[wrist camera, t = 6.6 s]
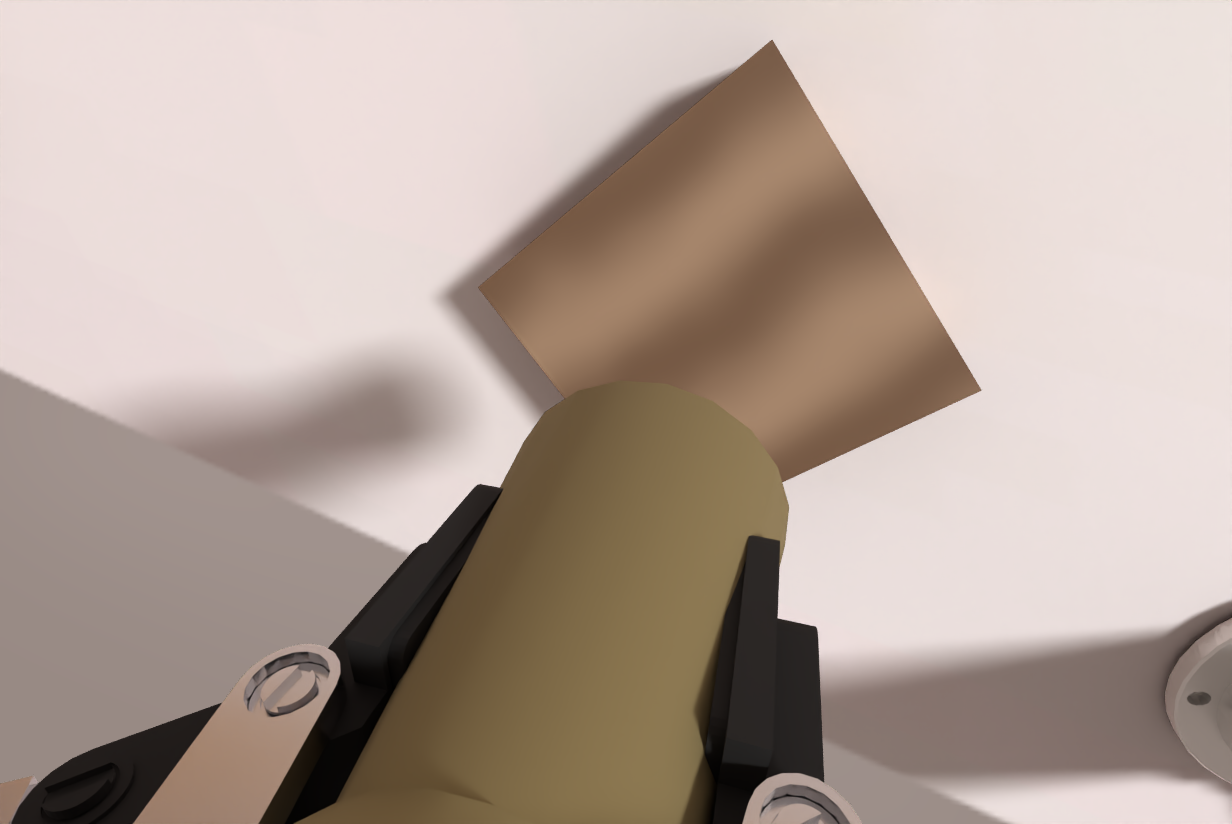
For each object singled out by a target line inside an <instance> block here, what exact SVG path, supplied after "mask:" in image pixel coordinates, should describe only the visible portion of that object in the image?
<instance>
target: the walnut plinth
mask: <svg viewBox="0 0 1232 824" xmlns="http://www.w3.org/2000/svg"><path fill="white" fill-rule="evenodd" d="M478 288H479V289H480V291H481V292H482V293H483V295H484V296H485V297H486V298H487V300H488V301H489V302H490V304H491V305H492V306H493V307H494V309H495V310H496V311H497V313H498V314H499V315H500V316H501V318H502V319H503V320H504V322H505V323H506V324H507V325H508V327H509V328H510V329H511V330H512V332H513V333H514V334H515V336H516V337H517V338H518V339H519V341H520V342H521V343H522V345H523V346H524V347H525V348H526V350H527V351H528V352H529V354H530V355H531V356H532V357H533V359H534V360H535V361H536V363H537V364H538V365H539V366H540V368H541V369H542V370H543V371H544V373H545V374H546V375H547V377H548V378H549V379H550V380H551V382H552V383H553V384H554V386H555V387H556V388H557V389H558V391H559V392H560V393H561V395H562V396H563V397H564V398H565V399H566V398H567V397H569V396H570V395H572V394H573V393H575V392H576V391H578V390H582V389H587V388H591V387H595V386H599V385H603V384H607V383H611V382H616V381H620V380H621V381H635V382H649V383H663V384H669V385H671V386H674V387H677V388H679V389H682V390H685V391H687V392H690V393H693V394H695V395H698V396H701V397H703V398H706V399H709V400H711V401H713V402H715V403H716V404H717V405H719V406H720V407H721V408H723V409H724V410H725V411H727V412H728V413H729V414H731V415H732V416H733V417H735V418H736V419H737V420H739V421H740V422H741V423H743V424H744V425H745V426H747V427H748V428H749V429H751V430H752V432H753V433H754V434H755V436H756V437H757V439H758V440H759V441H760V443H761V444H762V446H763V447H764V448H765V450H766V451H767V453H768V454H769V455H770V457H771V458H772V460H773V461H774V463H775V464H776V465H777V467H778V470H779V473H780V477H781V480H782V482H784V481H786V480H788V479H790V478H793V477H795V476H797V475H799V474H801V473H803V472H806V471H808V470H810V469H812V468H814V467H816V466H819V465H821V464H823V463H825V462H827V461H830V460H832V459H834V458H836V457H838V456H840V455H843V454H845V453H847V452H849V451H851V450H853V449H856V448H858V447H860V446H862V445H864V444H866V443H869V442H871V441H873V440H875V439H877V438H879V437H882V436H884V435H886V434H888V433H890V432H892V431H895V430H897V429H899V428H901V427H903V426H905V425H908V424H910V423H912V422H914V421H916V420H919V419H921V418H923V417H925V416H927V415H929V414H932V413H934V412H936V411H938V410H940V409H942V408H945V407H947V406H949V405H951V404H953V403H955V402H958V401H960V400H962V399H964V398H966V397H968V396H971V395H973V394H975V393H977V392H979V391H981V389H980V387H979V385H978V384H977V382H976V380H975V379H974V377H973V375H972V374H971V372H970V370H969V368H968V367H967V365H966V363H965V362H964V360H963V358H962V357H961V355H960V353H959V352H958V350H957V348H956V347H955V345H954V343H953V342H952V340H951V338H950V337H949V335H948V333H947V332H946V330H945V328H944V327H943V325H942V323H941V322H940V320H939V318H938V317H937V315H936V313H935V312H934V310H933V308H932V307H931V305H930V303H929V301H928V300H927V298H926V296H925V295H924V293H923V291H922V290H921V288H920V286H919V285H918V283H917V281H916V280H915V278H914V276H913V275H912V273H911V271H910V270H909V268H908V266H907V265H906V263H905V261H904V260H903V258H902V256H901V255H900V253H899V251H898V250H897V248H896V246H895V245H894V243H893V241H892V239H891V238H890V236H889V234H888V233H887V231H886V229H885V228H884V226H883V224H882V223H881V221H880V219H879V218H878V216H877V214H876V213H875V211H874V209H873V208H872V206H871V204H870V203H869V201H868V199H867V198H866V196H865V194H864V193H863V191H862V189H861V188H860V186H859V184H858V183H857V181H856V179H855V178H854V176H853V174H852V172H851V171H850V169H849V167H848V166H847V164H846V162H845V161H844V159H843V157H842V156H841V154H840V152H839V151H838V149H837V147H836V146H835V144H834V142H833V141H832V139H831V137H830V136H829V134H828V132H827V131H826V129H825V127H824V126H823V124H822V122H821V121H820V119H819V117H818V116H817V114H816V112H815V111H814V109H813V107H812V105H811V104H810V102H809V100H808V99H807V97H806V95H805V94H804V92H803V90H802V89H801V87H800V85H799V84H798V82H797V80H796V79H795V77H794V75H793V74H792V72H791V70H790V69H789V67H788V65H787V64H786V62H785V60H784V59H783V57H782V55H781V54H780V52H779V50H778V49H777V47H776V45H775V43H774V42H773V40H771V41H770V42H769V43H768V44H766V45H765V46H764V47H763V48H762V49H760V50H759V51H758V52H757V53H756V54H754V55H753V56H752V57H751V58H750V59H749V60H747V61H746V62H745V63H744V64H743V65H741V66H740V67H739V68H738V69H737V70H735V71H734V72H733V73H732V74H731V75H730V76H728V77H727V78H726V79H725V80H724V81H722V82H721V83H720V84H719V85H718V86H717V87H715V88H714V89H713V90H712V91H711V92H709V93H708V94H707V95H706V96H705V97H703V98H702V99H701V100H700V101H699V102H698V103H696V104H695V105H694V106H693V107H692V108H690V109H689V110H688V111H687V112H686V113H684V114H683V115H682V116H681V117H680V118H679V119H677V120H676V121H675V122H674V123H673V124H671V125H670V126H669V127H668V128H667V129H665V130H664V131H663V132H662V133H661V134H660V135H658V136H657V137H656V138H655V139H654V140H652V141H651V142H650V143H649V144H648V145H646V146H645V147H644V148H643V149H642V150H641V151H639V152H638V153H637V154H636V155H635V156H633V157H632V158H631V159H630V160H629V161H627V162H626V163H625V164H624V165H623V166H622V167H620V168H619V169H618V170H617V171H616V172H614V173H613V174H612V175H611V176H610V177H609V178H607V179H606V180H605V181H604V182H603V183H601V184H600V185H599V186H598V187H597V188H595V189H594V190H593V191H592V192H591V193H590V194H588V195H587V196H586V197H585V198H584V199H582V200H581V201H580V202H579V203H578V204H576V205H575V206H574V207H573V208H572V209H571V210H569V211H568V212H567V213H566V214H565V215H563V216H562V217H561V218H560V219H559V220H557V221H556V222H555V223H554V224H553V225H552V226H550V227H549V228H548V229H547V230H546V231H544V232H543V233H542V234H541V235H540V236H538V237H537V238H536V239H535V240H534V241H533V242H531V243H530V244H529V245H528V246H527V247H525V248H524V249H523V250H522V251H521V252H519V253H518V254H517V255H516V256H515V257H514V258H512V259H511V260H510V261H509V262H508V263H506V264H505V265H504V266H503V267H502V268H501V269H499V270H498V271H497V272H496V273H495V274H493V275H492V276H491V277H490V278H489V279H487V280H486V281H485V282H484V283H483V284H482V285H480V286H479V287H478Z"/></svg>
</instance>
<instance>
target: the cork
mask: <svg viewBox="0 0 1232 824" xmlns="http://www.w3.org/2000/svg"><path fill="white" fill-rule="evenodd" d="M500 488H503V491H502V493H501V494H500V496H499V498H498V500H497V502H496V503H495V505H494V507H493V509H492V511H491V513H490V515H489V517H488V519H487V521H486V523H485V525H484V527H483V529H482V531H481V533H480V535H479V537H478V539H477V541H476V543H475V545H474V547H473V549H472V551H471V553H470V555H469V557H468V559H467V561H466V563H465V564H464V566H463V568H462V570H461V572H460V573H459V575H458V577H457V579H456V581H455V583H454V584H453V586H452V588H451V590H450V592H449V593H448V595H447V597H446V599H445V601H444V603H443V604H442V606H441V608H440V610H439V612H438V614H437V615H436V617H435V619H434V621H433V623H432V624H431V626H430V628H429V630H428V632H427V634H426V635H425V637H424V639H423V641H422V643H421V645H420V646H419V648H418V650H417V652H416V654H415V655H414V657H413V659H412V661H411V663H410V665H409V666H408V668H407V670H406V672H405V674H404V675H403V676H402V678H401V679H400V680H399V682H398V684H397V686H396V688H395V690H394V692H393V693H392V695H391V697H390V699H389V701H388V703H387V705H386V707H385V709H384V711H383V713H382V715H381V716H380V718H379V720H378V722H377V724H376V726H375V728H374V730H373V732H372V734H371V736H370V738H369V739H368V741H367V743H366V745H365V747H364V749H363V751H362V753H361V755H360V757H359V759H358V760H357V762H356V764H355V766H354V768H353V770H352V772H351V774H350V776H349V778H348V780H347V782H346V783H345V785H344V787H343V789H342V791H341V793H340V795H339V797H338V799H337V801H336V803H335V804H332V805H330V806H328V807H326V808H324V809H322V810H320V811H318V812H316V813H314V814H312V815H310V816H308V817H306V818H304V819H302V820H300V821H298V822H296V823H294V824H712V817H713V811H714V804H715V798H716V790H717V784H716V782H715V779H714V777H713V774H712V772H711V769H710V767H709V764H708V762H707V759H706V757H705V749H706V742H707V735H708V728H709V722H710V715H711V708H712V701H713V694H714V687H715V680H716V673H717V666H718V660H719V653H720V646H721V639H722V632H723V625H724V618H725V613H726V610H727V608H728V605H729V603H730V600H731V598H732V595H733V593H734V590H735V587H736V585H737V582H738V580H739V577H740V575H741V572H742V570H743V567H744V565H745V562H746V555H747V547H748V539H749V536H752V535H753V536H759V537H764V538H769V539H775V540H780V562H779V567H780V563H781V559H782V555H783V551H784V547H785V540H786V531H787V521H788V512H789V505H788V501H787V498H786V494H785V491H784V487H783V484H782V480H781V477H780V473H779V470H778V467H777V465H776V464H775V463H774V461H773V460H772V458H771V457H770V455H769V454H768V453H767V451H766V450H765V448H764V447H763V446H762V444H761V443H760V441H759V440H758V439H757V437H756V436H755V434H754V433H753V432H752V430H751V429H749V428H748V427H747V426H745V425H744V424H743V423H741V422H740V421H739V420H737V419H736V418H735V417H733V416H732V415H731V414H729V413H728V412H727V411H725V410H724V409H723V408H721V407H720V406H719V405H717V404H716V403H715V402H713V401H711V400H709V399H706V398H703V397H701V396H698V395H695V394H693V393H690V392H687V391H685V390H682V389H679V388H677V387H674V386H671V385H669V384H663V383H649V382H635V381H621V380H620V381H616V382H611V383H607V384H603V385H599V386H595V387H591V388H587V389H582V390H578V391H576V392H575V393H573V394H572V395H570V396H569V397H567V398H566V399H564V400H563V401H561V402H560V403H558V404H557V405H555V406H553V407H552V408H550V409H549V410H547V411H546V412H545V413H544V414H543V416H542V417H541V418H540V420H539V421H538V423H537V424H536V425H535V427H534V428H533V430H532V431H531V433H530V434H529V435H528V437H527V438H526V440H525V441H524V443H523V445H522V447H521V448H520V450H519V452H518V454H517V456H516V458H515V460H514V462H513V464H512V466H511V468H510V470H509V471H508V473H507V475H506V477H505V479H504V481H503V483H502V485H501V487H500Z"/></svg>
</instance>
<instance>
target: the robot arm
mask: <svg viewBox="0 0 1232 824" xmlns="http://www.w3.org/2000/svg"><path fill="white" fill-rule="evenodd" d="M502 491H503V488H498V487H493V486H487V485H482V484H479V485H477V486H476V487H474V489H473V490H472V491H471V492H470V493H469V494H468V496H467V497H466V498H465V499H464V500H463V501H462V502H461V504H460V505H459V506H458V507H457V508H456V509H455V511H454V512H453V513H452V514H451V515H450V516H449V518H448V519H447V520H446V521H445V522H444V523H443V525H442V526H441V527H440V528H439V529H438V530H437V531H436V533H435V534H434V535H433V536H432V537H431V538H430V540H429V541H428V542H427V543H423V544H421V545H419V546H418V547H417V548H416V549H415V550H414V551H413V552H412V553H411V554H410V555H409V556H408V557H407V559H406V560H405V561H404V562H403V563H402V564H401V565H400V567H399V568H398V569H397V570H396V571H395V572H394V574H393V575H392V576H391V577H390V578H389V579H388V580H387V581H386V583H385V584H384V585H383V586H382V587H381V588H380V589H379V591H378V592H377V593H376V594H375V595H374V597H372V599H371V600H370V601H369V602H368V603H367V604H366V605H365V607H364V608H363V609H362V610H361V611H360V612H359V613H358V615H357V616H356V617H355V618H354V619H353V620H352V621H351V622H350V624H349V625H348V626H347V627H346V628H345V629H344V631H343V632H342V633H341V634H340V635H339V636H338V637H337V638H336V640H335V641H334V642H333V643H332V644H331V645H330V646H329V648H327V647H325V646H320V645H316V644H299V645H294V646H290V647H287V648H282V649H280V650H278V651H276V652H274V653H272V654H269V655H268V656H266V657H264V658H263V659H261V660H260V661H258V662H257V663H256V664H254V665H253V666H251V667H250V669H249V670H248V671H247V672H246V673H245V674H244V675H243V676H242V677H241V678H240V679H239V681H238V682H237V684H236V685H235V686H234V688H233V689H232V690H231V692H230V693H229V694H228V696H227V697H226V698H225V700H224V701H223V702H222V703H220V704H217V705H214V706H211V707H209V708H206V709H203V710H200V711H198V712H195V713H192V714H189V715H186V716H184V717H181V718H178V719H175V720H173V721H170V722H167V723H164V724H162V725H159V726H156V727H153V728H151V729H148V730H145V731H142V732H139V733H136V734H134V735H131V736H128V737H126V738H123V739H120V740H117V741H114V742H111V743H109V744H106V745H103V746H100V747H98V748H95V749H92V750H90V751H88V752H86V753H83V754H81V755H79V756H77V757H75V758H72V759H71V760H69V761H68V762H66V763H64V764H63V765H61V766H60V767H58V768H57V769H55V770H54V771H52V772H51V773H50V774H49V775H48V776H46V777H45V778H44V779H43V780H42V781H41V782H39V783H38V782H37V780H36V779H35V777H34V776H29V777H25V778H21V779H17V780H13V781H9V782H5V783H0V824H294V823H296V822H298V821H300V820H302V819H304V818H306V817H308V816H310V815H312V814H314V813H316V812H318V811H320V810H322V809H324V808H326V807H328V806H330V805H332V804H335V803H336V801H337V799H338V797H339V795H340V793H341V791H342V789H343V787H344V785H345V783H346V782H347V780H348V778H349V776H350V774H351V772H352V770H353V768H354V766H355V764H356V762H357V760H358V759H359V757H360V755H361V753H362V751H363V749H364V747H365V745H366V743H367V741H368V739H369V738H370V736H371V734H372V732H373V730H374V728H375V726H376V724H377V722H378V720H379V718H380V716H381V715H382V713H383V711H384V709H385V707H386V705H387V703H388V701H389V699H390V697H391V695H392V693H393V692H394V690H395V688H396V686H397V684H398V682H399V680H400V679H401V678H402V676H403V675H404V674H405V672H406V670H407V668H408V666H409V665H410V663H411V661H412V659H413V657H414V655H415V654H416V652H417V650H418V648H419V646H420V645H421V643H422V641H423V639H424V637H425V635H426V634H427V632H428V630H429V628H430V626H431V624H432V623H433V621H434V619H435V617H436V615H437V614H438V612H439V610H440V608H441V606H442V604H443V603H444V601H445V599H446V597H447V595H448V593H449V592H450V590H451V588H452V586H453V584H454V583H455V581H456V579H457V577H458V575H459V573H460V572H461V570H462V568H463V566H464V564H465V563H466V561H467V559H468V557H469V555H470V553H471V551H472V549H473V547H474V545H475V543H476V541H477V539H478V537H479V535H480V533H481V531H482V529H483V527H484V525H485V523H486V521H487V519H488V517H489V515H490V513H491V511H492V509H493V507H494V505H495V503H496V502H497V500H498V498H499V496H500V494H501V493H502ZM779 562H780V540H775V539H769V538H764V537H759V536H753V535H752V536H749V539H748V547H747V555H746V562H745V565H744V567H743V570H742V572H741V575H740V577H739V580H738V582H737V585H736V587H735V590H734V593H733V595H732V598H731V600H730V603H729V605H728V608H727V610H726V613H725V618H724V625H723V632H722V639H721V646H720V653H719V660H718V666H717V673H716V680H715V687H714V694H713V701H712V708H711V715H710V722H709V728H708V735H707V742H706V749H705V757H706V759H707V762H708V764H709V767H710V769H711V772H712V774H713V777H714V779H715V782H716V784H717V790H716V798H715V804H714V811H713V817H712V824H862V822H861V820H860V819H859V817H858V815H857V814H856V812H855V811H854V810H853V808H852V806H851V805H850V803H849V802H847V801H846V800H845V799H844V798H843V797H842V796H841V795H840V794H839V793H838V792H837V791H836V790H835V789H834V788H832V787H830V786H828V785H827V784H825V783H824V768H823V743H822V720H821V696H820V672H819V648H818V632H817V628H816V627H815V626H810V625H805V624H801V623H796V622H792V621H787V620H782V619H778V618H777V616H778V589H779ZM1165 704H1166V713H1167V715H1168V718H1169V720H1170V722H1171V725H1172V727H1173V729H1174V731H1175V732H1176V734H1177V735H1178V737H1179V738H1180V740H1181V741H1182V743H1183V744H1184V746H1185V748H1186V749H1187V751H1188V752H1189V753H1190V754H1191V755H1192V756H1193V757H1194V758H1195V759H1196V760H1197V761H1198V762H1199V763H1200V764H1201V765H1202V766H1203V767H1204V768H1206V769H1208V770H1209V771H1211V772H1212V773H1214V774H1215V775H1217V776H1218V777H1220V778H1221V779H1223V780H1225V781H1227V782H1229V783H1231V784H1232V618H1231V619H1229V620H1227V621H1225V622H1223V623H1221V624H1219V625H1217V626H1216V627H1215V628H1213V629H1212V630H1211V631H1209V632H1208V633H1206V634H1205V635H1204V636H1202V637H1201V638H1199V639H1198V640H1197V641H1196V642H1195V643H1194V644H1193V645H1192V646H1191V647H1190V648H1189V649H1188V650H1187V651H1186V652H1185V653H1184V654H1183V655H1182V656H1181V657H1180V658H1179V660H1178V662H1177V664H1176V665H1175V667H1174V669H1173V671H1172V672H1171V674H1170V676H1169V679H1168V683H1167V687H1166V691H1165Z"/></svg>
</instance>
